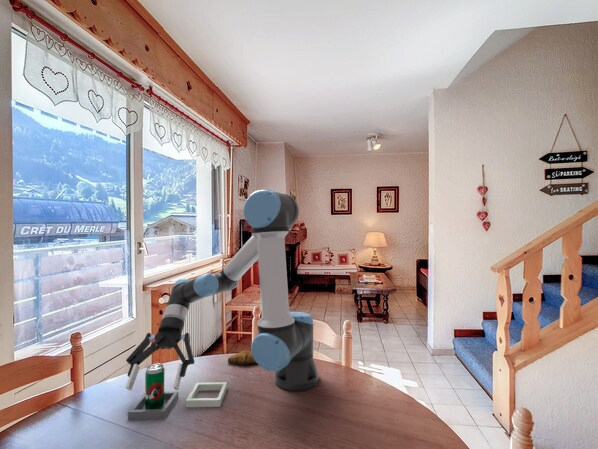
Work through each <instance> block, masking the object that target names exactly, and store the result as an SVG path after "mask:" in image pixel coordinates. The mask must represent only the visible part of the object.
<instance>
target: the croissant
mask: <svg viewBox="0 0 598 449" xmlns="http://www.w3.org/2000/svg"><path fill="white" fill-rule="evenodd" d="M227 363H228V364H232V365H244V366H245V365H254V364H255V365H256V364H257V363H256V361H255V360H254V358H253V355H252V351H250V350H241V351H240V352H237V353H234V354H233V355H230V356H229V357H228V358H227Z"/></svg>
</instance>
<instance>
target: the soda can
mask: <svg viewBox="0 0 598 449" xmlns="http://www.w3.org/2000/svg"><path fill="white" fill-rule="evenodd" d="M165 372H166V371H165V367H164V364H163V363H153V364H150V365H148V366H147V368H146V370H145V372H144V373H145V374H144V376H145V377H144V379H145V381H144V384H145V385H144V393H145V404H144V410H146V409H163V408H164V407H165V400H164V392H165Z"/></svg>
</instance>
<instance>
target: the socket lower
mask: <svg viewBox="0 0 598 449" xmlns="http://www.w3.org/2000/svg"><path fill="white" fill-rule="evenodd" d="M227 389H228V382H225V381H224V382H222V381H221V382H218V381H217V382H216V381H215V382H196V383H195V384H194V386H193V388H192V389H191V391H190V393H189V395H188V396H187V398H186V399H185V408H216V407H217V408H220V407H221V405H222V403H223V401H224V398H225V395H226V392H227ZM199 391H200V392H201V391H219V393H218V396H217V397H206V398H205V397H203V398H202V397H201V398H200V397H198V398H196V396H197V394H198V393H199Z"/></svg>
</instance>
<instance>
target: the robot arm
mask: <svg viewBox="0 0 598 449" xmlns="http://www.w3.org/2000/svg"><path fill="white" fill-rule="evenodd" d="M299 210H300V208H299V205H298V202H297V200H295V198H293V196H291V195H288V194H286V193H281V192H277V191H274V190H272V189H259V190H256V191H254V192H252V193H251V194H250V195H249V197H247V199H246V200H245V202H244V205H243V210H242V211H243V212H242V213H243V217H244V220H245V221H246V222H247V224H248V225H249V226H251V237H250V238H249V239H247V241H246V242H245V243H244V244H243V245H242V247H241V248H240V249H239V250H238V251H237V252H236V253H235V255H233V256H232V258H231V259H230V260H229V261H228V262H227V263H226V265H225V266H223V268H222V269H221V270H220V271H219V272H218V273H213V274H212V273H210V272H209V273H205V274H202V275H199V276H198V277H196V278H194V279H192V280H190V279H188V278H183V279H181V278H179V279H177V280H176V281H175V283H174V285H173V287H172V289H171V292H170V295H169V298H168V301H167V304H166V307H165V310H164V313H163V315H162V319H161V320H160V324H159V327H158V330H157V333H156V334H151V333H150V332H147V333H146V334H145V337H144V339H143V340H142V341H141V342H140V344H139V345H138V346H137V347H136V348H135V349H134V350H133V351H132V352H131V354H130V355H129V356H128V357H127V358H126V359H125V361H126V363H128V364H129V366H130V367H129V369H128V371H127V377H128V379H127V382H126V385H125V389H127V390H128V391H133V388H134V385H135V382H136V380H137V376H138V374H139V371H140V365H141V364H142V363H143V362H144V361H145V360H147V358H150V356H151V355H152V354H154V352H157V351H158V350H160V349H161V350H171V349H173V348H174V350H175V351H176V354H177V356H178V357H179V359H180V361H181V362H182V363H178V364H179V365H178V368H177V371H176V374H175V378H174V379H175V380H174V383H173V386H172V388H174V390H175V391H179V387H180V384H181V381H182V378H185V376H186V373H187V370H188V366H189V365H194V364H195V363H196V362H195V358H194V354H193V350H192V346H191V336H190V334H189V332H185V334H183V330H184V327H185V323H186V319H187V317H188V312H189V309H190V305H191V304H193V303H195V302H197V301H199V300H202V299H204V298H207V297H211V296H215V295H218V294H221V293H226V292H230V291H232V290H233V289H236V288H237V287H238V285H239V282H240V279H241V278H242V277H243V276H244V274H246V272H247V271H248V270H249V269H250V268H252V266H253V265H254V264H255V263H256V262H258V276H259V277H258V278H259V290H260V294H259V295H260V305H261V306H260V307H261V308H260V309H261V317H260V319H258V321H257V324H256V325H257V326H256V327H257V328H256V329H257V335H256V336H254V339H253V340H252V342H251V347H250V348H251V351H250V352H252V355H253V358H254V360H255V361H256V363H255V364H258V365H259V367H260V368H261V369H263V370H264V371H266V372H274V383H275V384H276V385H277V386H278V387H279V388H281V389H284V390H287V391H291V392H292V391H293V392H299V391H300V392H301V391H306V390H307V391H308V390H310V389H312V388H314V387H315V386H316V385H317V384H318V382H319V372H318V369H317V364H316V362H315V359H314V326H315V325H314V317H313V316H312V315H311V314H310V313H307V312H304V311H290V303H289V288H288V276H287V275H288V270H287V260H286V259H287V256H286V241H285V238H286V236H287V235H288V234H289V233H290V229H291V228H292V227H293V226H294V225H295V223H296V222H297V221H298V219H299V213H300V211H299ZM181 340H182V341H183V342H184V346H185V350H186V354H187V358H188V359H187V358H186V356H185V355H184V353H183V351H182V350H181V348H180V347H179V345H178V344H179V342H180V341H181ZM149 345H150V346H149Z"/></svg>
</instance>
